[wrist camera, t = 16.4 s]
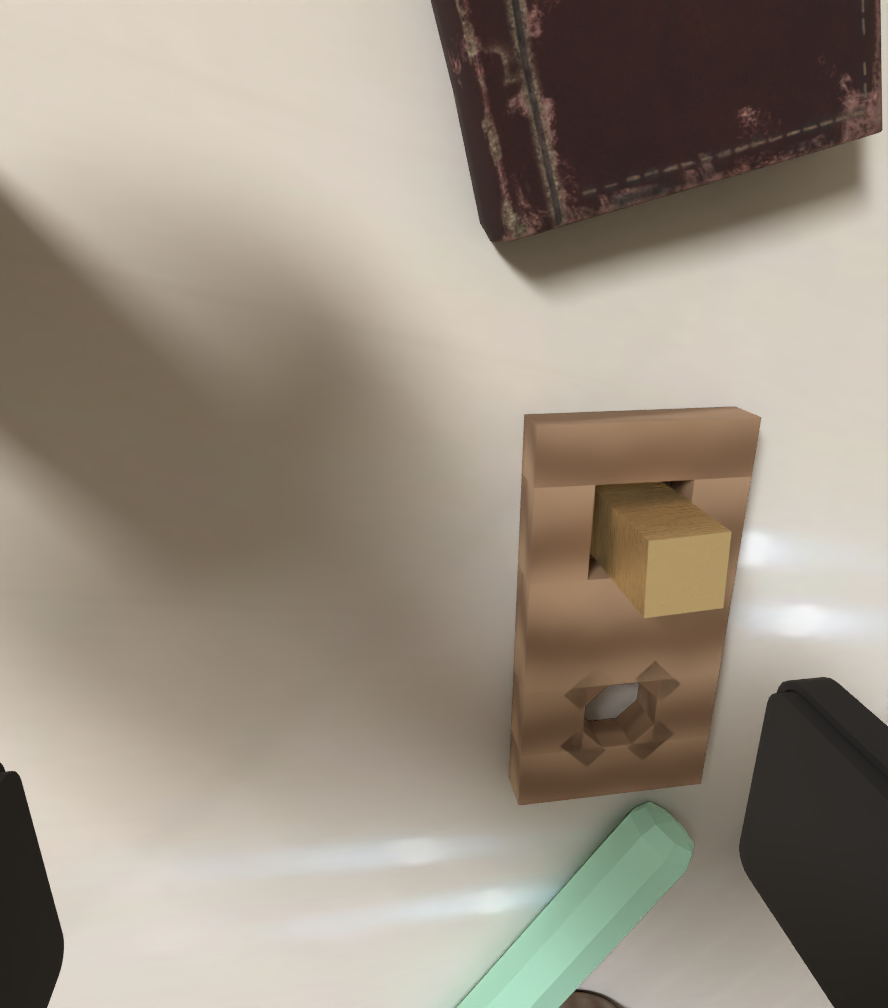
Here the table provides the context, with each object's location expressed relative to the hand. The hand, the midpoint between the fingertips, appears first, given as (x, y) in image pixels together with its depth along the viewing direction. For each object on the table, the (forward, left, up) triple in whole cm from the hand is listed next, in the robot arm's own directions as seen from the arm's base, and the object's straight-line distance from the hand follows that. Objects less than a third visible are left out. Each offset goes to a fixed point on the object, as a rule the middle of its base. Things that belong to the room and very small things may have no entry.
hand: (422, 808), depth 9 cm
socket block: (+14, +15, -28) cm, 35 cm away
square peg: (+8, +15, -28) cm, 33 cm away
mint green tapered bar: (+40, +13, -29) cm, 51 cm away
